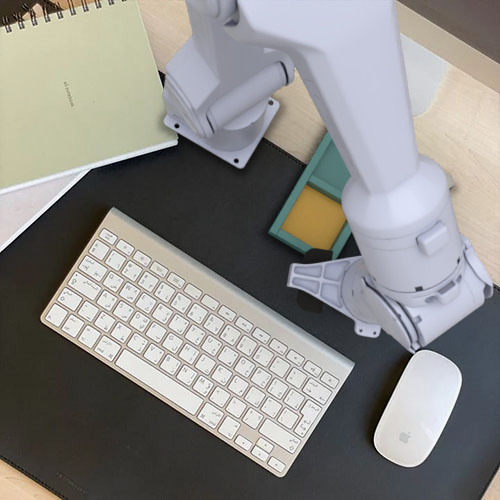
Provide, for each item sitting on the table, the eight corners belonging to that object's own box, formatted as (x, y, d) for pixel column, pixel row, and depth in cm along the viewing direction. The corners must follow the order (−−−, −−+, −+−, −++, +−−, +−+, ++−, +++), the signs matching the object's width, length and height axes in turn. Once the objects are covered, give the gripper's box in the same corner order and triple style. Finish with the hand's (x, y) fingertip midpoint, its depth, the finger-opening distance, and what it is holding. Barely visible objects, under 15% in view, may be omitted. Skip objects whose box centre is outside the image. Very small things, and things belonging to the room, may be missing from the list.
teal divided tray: (267, 233, 66) (269, 230, 64) (332, 122, 67) (336, 115, 65) (327, 268, 66) (331, 267, 64) (391, 156, 67) (397, 151, 65)
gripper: (287, 324, 50) (273, 317, 63) (470, 357, 50) (418, 343, 64) (303, 234, 50) (286, 246, 64) (484, 267, 51) (429, 272, 64)
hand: (352, 290), depth 64 cm, fingers open, 7 cm apart
